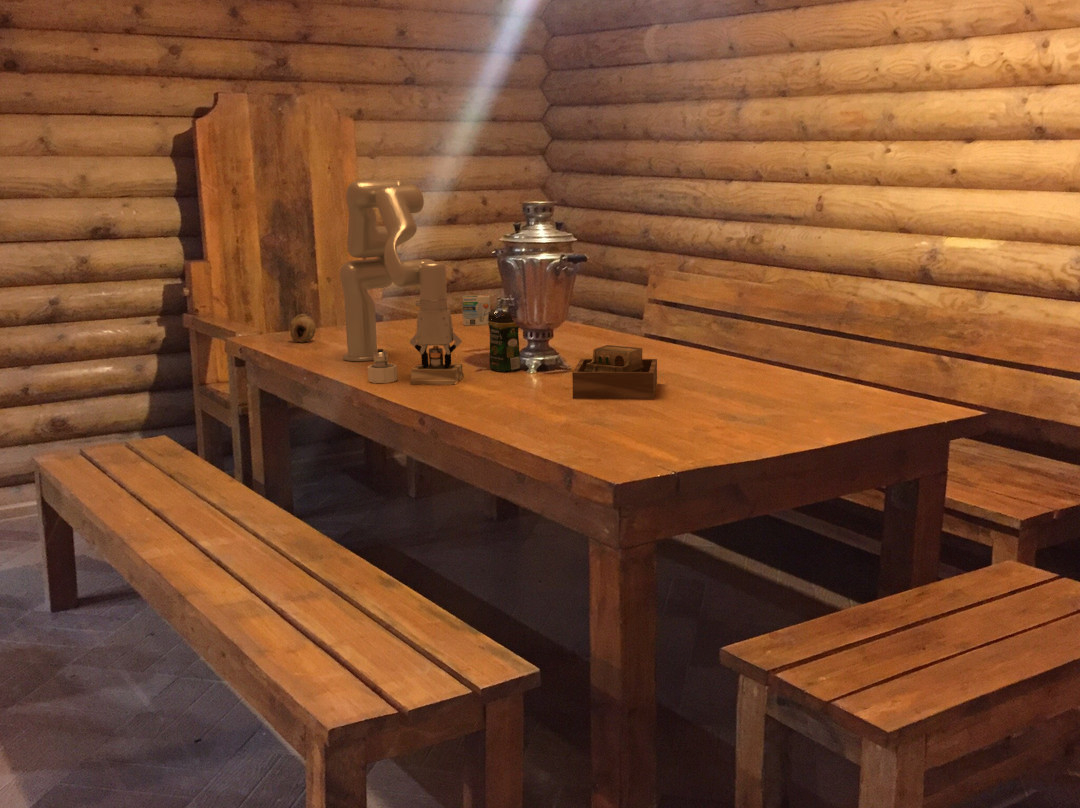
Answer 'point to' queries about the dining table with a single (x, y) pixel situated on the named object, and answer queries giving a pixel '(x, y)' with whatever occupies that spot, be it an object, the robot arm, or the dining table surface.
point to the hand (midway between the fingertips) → (436, 366)
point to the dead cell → (380, 359)
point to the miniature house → (616, 359)
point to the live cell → (436, 358)
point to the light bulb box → (476, 309)
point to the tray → (436, 375)
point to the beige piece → (382, 374)
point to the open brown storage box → (615, 382)
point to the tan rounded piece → (302, 328)
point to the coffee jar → (503, 343)
